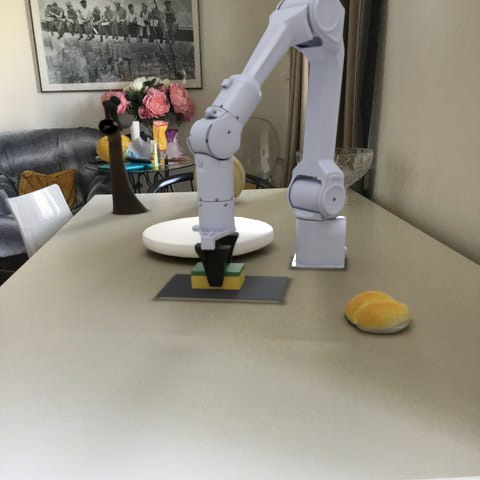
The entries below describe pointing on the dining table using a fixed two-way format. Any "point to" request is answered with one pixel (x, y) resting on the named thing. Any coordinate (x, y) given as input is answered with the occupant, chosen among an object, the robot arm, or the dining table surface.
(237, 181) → the cantaloupe
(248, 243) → the plate
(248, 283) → the sponge mat
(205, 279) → the sponge
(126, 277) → the dining table surface
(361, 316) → the bread roll
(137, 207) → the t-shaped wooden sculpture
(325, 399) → the dining table surface
